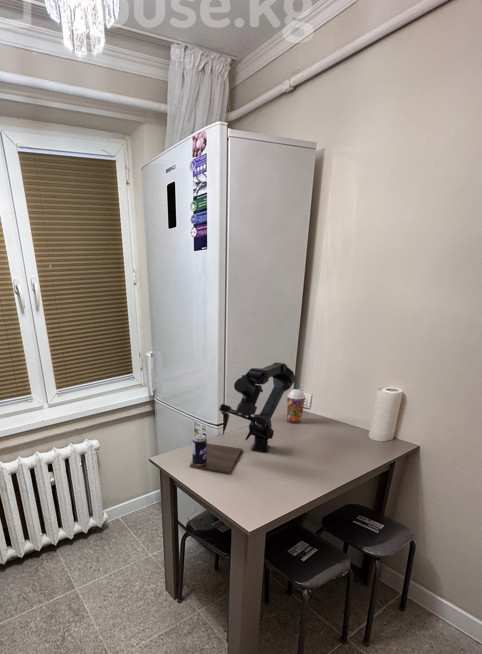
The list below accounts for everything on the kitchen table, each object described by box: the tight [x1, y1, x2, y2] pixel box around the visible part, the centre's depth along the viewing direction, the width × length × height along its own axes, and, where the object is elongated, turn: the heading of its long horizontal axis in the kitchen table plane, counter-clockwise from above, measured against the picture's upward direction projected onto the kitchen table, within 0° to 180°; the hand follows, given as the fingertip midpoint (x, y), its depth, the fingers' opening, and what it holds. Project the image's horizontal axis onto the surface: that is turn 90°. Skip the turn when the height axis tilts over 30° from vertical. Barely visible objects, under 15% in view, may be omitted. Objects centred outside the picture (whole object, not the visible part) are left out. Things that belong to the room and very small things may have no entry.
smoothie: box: [286, 383, 306, 424], centre depth 181 cm, size 8×8×20 cm
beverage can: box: [191, 433, 208, 466], centre depth 143 cm, size 6×6×12 cm
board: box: [189, 442, 243, 475], centre depth 150 cm, size 22×16×1 cm
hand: (234, 435), depth 141 cm, fingers open, 9 cm apart
